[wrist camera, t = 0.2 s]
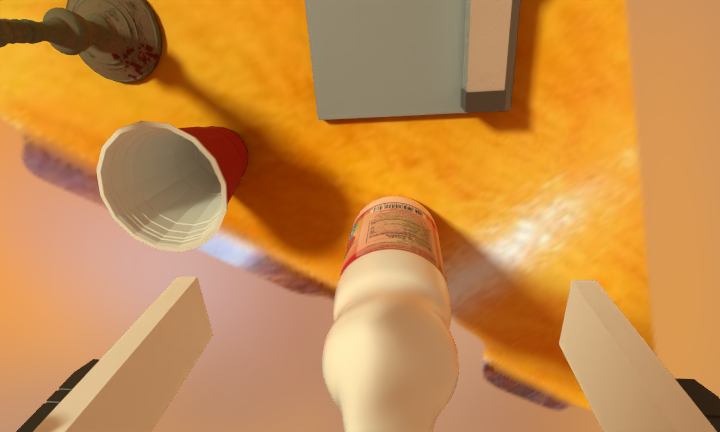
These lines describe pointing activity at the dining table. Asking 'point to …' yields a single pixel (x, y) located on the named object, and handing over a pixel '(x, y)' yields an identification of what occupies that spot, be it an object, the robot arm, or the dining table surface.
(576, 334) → the robot arm
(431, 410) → the fruit juice
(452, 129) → the dining table surface
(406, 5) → the plate
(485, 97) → the lock bar
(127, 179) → the plastic cup
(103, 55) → the candlestick holder
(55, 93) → the dining table surface
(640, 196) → the dining table surface
